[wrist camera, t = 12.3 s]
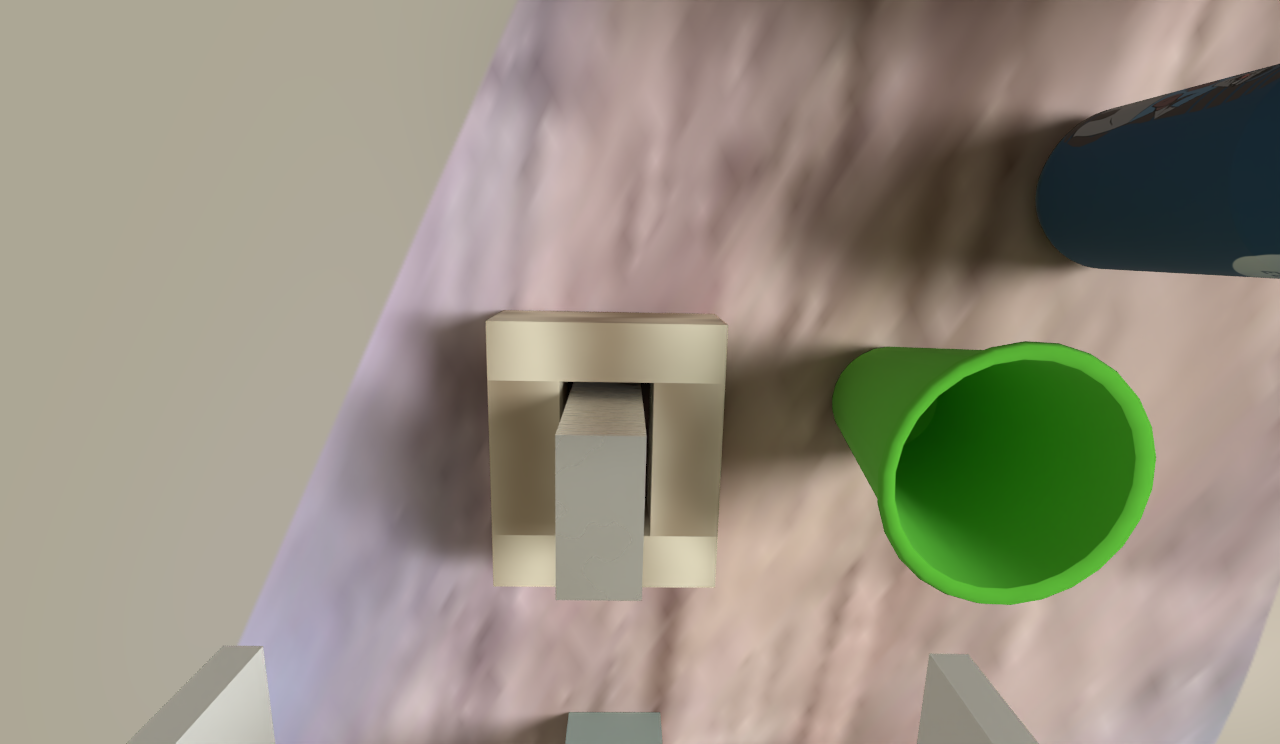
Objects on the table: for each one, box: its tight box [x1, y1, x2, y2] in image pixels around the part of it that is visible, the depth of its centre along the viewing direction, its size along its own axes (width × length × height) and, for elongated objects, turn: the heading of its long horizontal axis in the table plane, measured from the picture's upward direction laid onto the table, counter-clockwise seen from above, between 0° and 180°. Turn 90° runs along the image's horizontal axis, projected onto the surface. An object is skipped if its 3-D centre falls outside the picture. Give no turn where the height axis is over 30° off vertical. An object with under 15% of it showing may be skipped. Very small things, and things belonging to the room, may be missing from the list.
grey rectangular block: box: [555, 382, 647, 601], centre depth 26 cm, size 3×6×10 cm, turn 179°
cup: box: [832, 341, 1156, 605], centre depth 25 cm, size 9×9×11 cm
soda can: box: [1035, 64, 1280, 279], centre depth 23 cm, size 7×7×12 cm
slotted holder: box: [485, 310, 728, 588], centre depth 29 cm, size 10×12×4 cm
